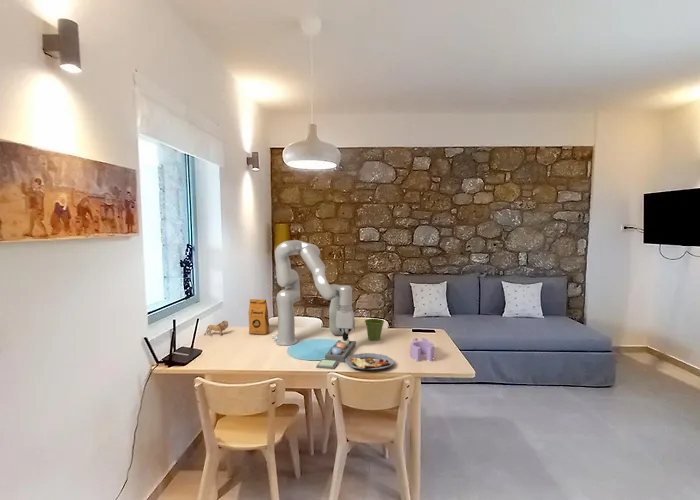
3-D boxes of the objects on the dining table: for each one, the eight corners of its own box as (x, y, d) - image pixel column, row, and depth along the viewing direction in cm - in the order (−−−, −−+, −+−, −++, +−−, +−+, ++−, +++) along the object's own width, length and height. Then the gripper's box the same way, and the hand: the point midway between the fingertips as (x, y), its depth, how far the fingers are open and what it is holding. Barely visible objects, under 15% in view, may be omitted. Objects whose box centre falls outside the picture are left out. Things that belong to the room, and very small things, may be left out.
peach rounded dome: (335, 351, 234) (335, 344, 233) (337, 348, 238) (337, 341, 238) (344, 352, 233) (344, 344, 232) (346, 349, 237) (346, 342, 237)
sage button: (339, 348, 242) (339, 341, 242) (341, 345, 247) (341, 338, 247) (348, 348, 241) (348, 341, 241) (350, 346, 246) (350, 339, 246)
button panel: (325, 360, 223) (325, 355, 223) (338, 345, 250) (338, 340, 250) (344, 362, 221) (344, 356, 221) (355, 346, 248) (355, 341, 248)
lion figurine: (228, 333, 275) (228, 319, 274) (228, 335, 270) (227, 321, 269) (204, 334, 272) (203, 320, 271) (203, 337, 267) (202, 322, 266)
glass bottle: (348, 334, 273) (348, 290, 270) (337, 338, 265) (337, 292, 263) (337, 331, 279) (337, 288, 277) (326, 335, 272) (326, 290, 269)
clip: (408, 349, 243) (408, 337, 242) (430, 350, 242) (430, 338, 242) (411, 361, 223) (412, 348, 222) (436, 362, 222) (436, 348, 222)
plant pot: (381, 342, 255) (381, 323, 254) (361, 340, 259) (362, 322, 259) (386, 337, 266) (386, 319, 266) (368, 335, 270) (368, 317, 270)
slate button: (331, 356, 225) (331, 349, 225) (333, 354, 230) (333, 346, 229) (340, 357, 224) (340, 349, 224) (342, 354, 229) (342, 347, 228)
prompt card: (316, 367, 213) (316, 364, 213) (321, 361, 222) (321, 358, 222) (334, 369, 211) (334, 366, 211) (338, 363, 220) (338, 360, 220)
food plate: (401, 369, 210) (401, 362, 210) (356, 376, 202) (356, 368, 202) (380, 355, 234) (380, 349, 234) (339, 360, 226) (339, 354, 226)
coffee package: (265, 336, 269) (264, 301, 267) (246, 335, 272) (246, 300, 270) (271, 332, 279) (271, 298, 277) (253, 330, 281) (252, 297, 280)
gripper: (330, 308, 241) (330, 341, 242) (356, 309, 237) (357, 342, 239) (333, 305, 248) (334, 337, 249) (359, 306, 245) (359, 339, 246)
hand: (345, 340), depth 244 cm, fingers closed
